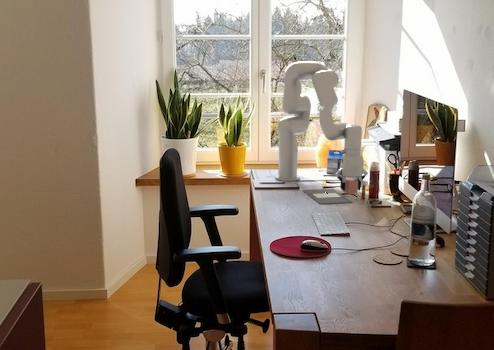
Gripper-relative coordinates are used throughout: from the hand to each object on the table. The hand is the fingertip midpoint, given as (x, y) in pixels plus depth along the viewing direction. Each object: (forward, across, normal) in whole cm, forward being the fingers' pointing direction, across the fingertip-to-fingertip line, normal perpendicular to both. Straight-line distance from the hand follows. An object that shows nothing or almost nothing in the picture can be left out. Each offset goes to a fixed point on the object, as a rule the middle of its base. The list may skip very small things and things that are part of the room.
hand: (350, 189), depth 267 cm
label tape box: (+2, +8, +40) cm, 41 cm away
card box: (+1, 0, 0) cm, 1 cm away
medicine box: (+2, +11, +22) cm, 25 cm away
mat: (+1, -14, -6) cm, 15 cm away
